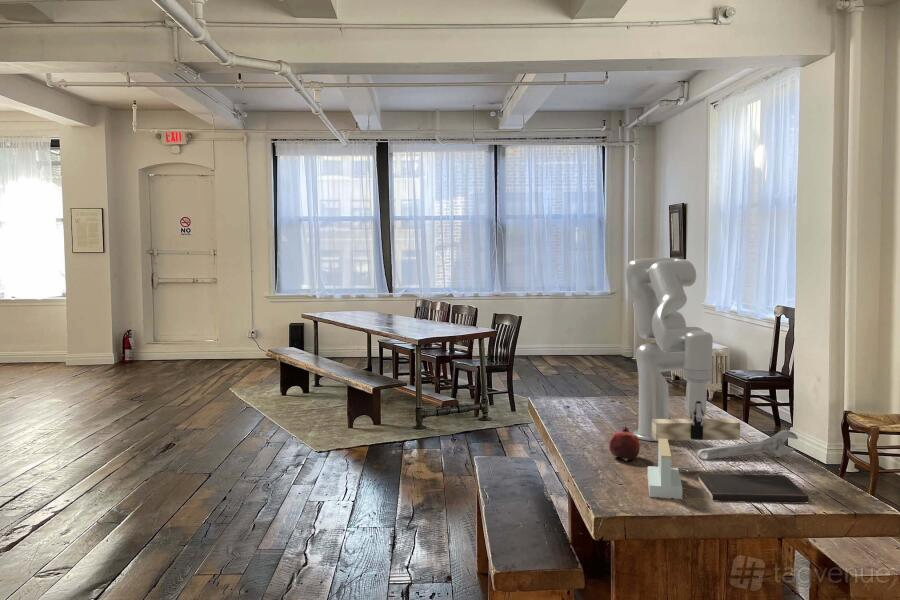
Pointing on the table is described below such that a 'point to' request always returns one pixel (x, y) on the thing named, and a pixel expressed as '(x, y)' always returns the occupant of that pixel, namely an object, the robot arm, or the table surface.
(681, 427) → the birch bar
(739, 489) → the hardcover book
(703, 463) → the table surface
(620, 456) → the fruit
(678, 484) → the ridge stand
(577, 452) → the table surface
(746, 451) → the wrench
